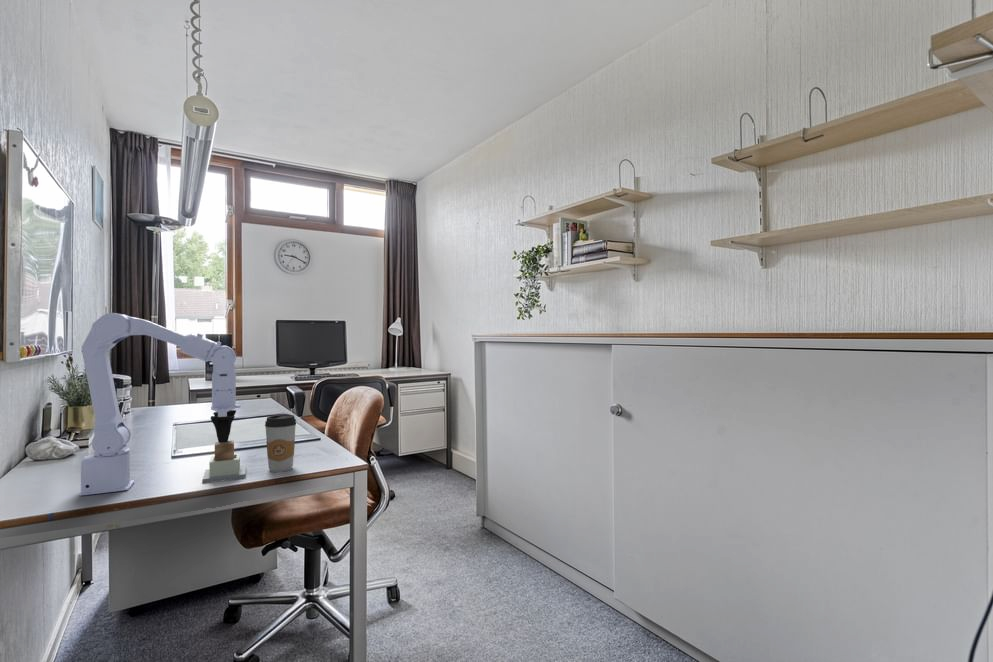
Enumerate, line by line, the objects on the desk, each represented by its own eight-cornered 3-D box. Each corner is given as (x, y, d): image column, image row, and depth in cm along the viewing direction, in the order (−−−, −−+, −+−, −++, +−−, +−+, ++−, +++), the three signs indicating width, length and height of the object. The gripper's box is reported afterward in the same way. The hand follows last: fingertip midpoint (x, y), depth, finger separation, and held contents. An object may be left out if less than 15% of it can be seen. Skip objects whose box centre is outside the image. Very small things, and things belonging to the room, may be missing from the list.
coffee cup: (262, 474, 137) (262, 420, 137) (267, 466, 145) (267, 415, 145) (294, 471, 139) (294, 418, 139) (298, 464, 147) (298, 413, 147)
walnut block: (214, 463, 132) (214, 445, 132) (215, 460, 137) (215, 441, 137) (233, 461, 135) (233, 443, 135) (234, 458, 139) (234, 440, 139)
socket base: (202, 483, 129) (202, 464, 129) (205, 473, 138) (205, 456, 138) (245, 477, 133) (245, 460, 133) (245, 468, 142) (245, 452, 142)
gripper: (239, 391, 131) (239, 443, 131) (241, 386, 144) (241, 433, 144) (208, 393, 128) (208, 445, 128) (213, 387, 141) (213, 435, 141)
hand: (223, 439), depth 136 cm, fingers open, 7 cm apart
